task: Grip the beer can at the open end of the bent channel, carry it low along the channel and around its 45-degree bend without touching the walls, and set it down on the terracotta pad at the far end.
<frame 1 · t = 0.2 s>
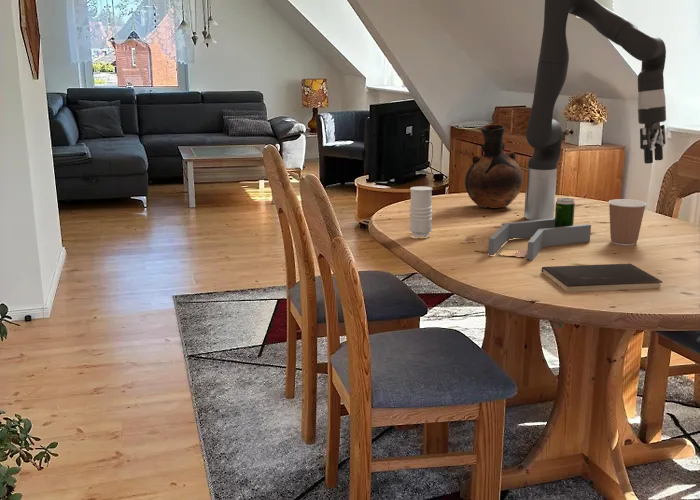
hand: (653, 161, 210), 22 cm above the table, tool pointing down, fingers open, 8 cm apart
beer can: (562, 239, 212), on the table
ceramic vessel: (492, 208, 258), on the table
coffee cup: (623, 243, 206), on the table
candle: (420, 237, 216), on the table
hardcover book: (598, 283, 172), on the table
bent channel: (537, 245, 204), on the table
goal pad: (513, 253, 196), on the table
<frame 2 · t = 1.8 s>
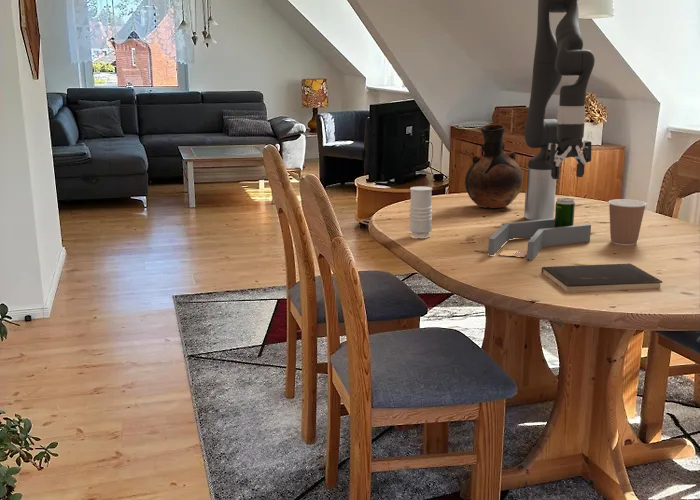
hand: (567, 177, 207), 18 cm above the table, tool pointing down, fingers open, 8 cm apart
nothing on the table moved.
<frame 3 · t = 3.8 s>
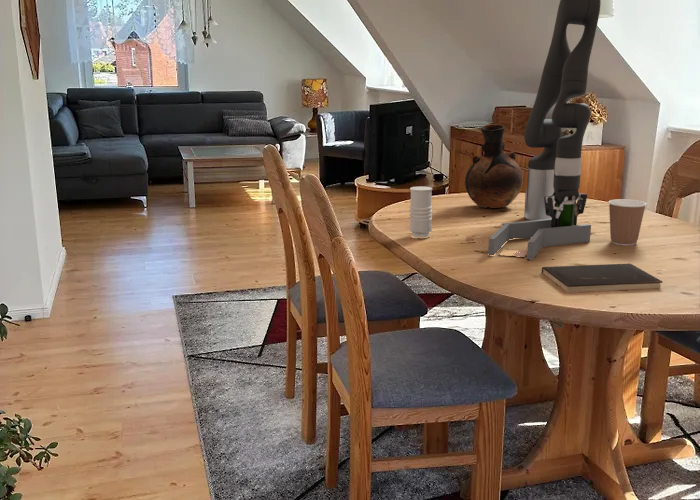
hand: (563, 228, 211), 3 cm above the table, tool pointing down, fingers closed on beer can, 5 cm apart
beer can: (562, 239, 212), on the table, touching gripper
everything else where it was.
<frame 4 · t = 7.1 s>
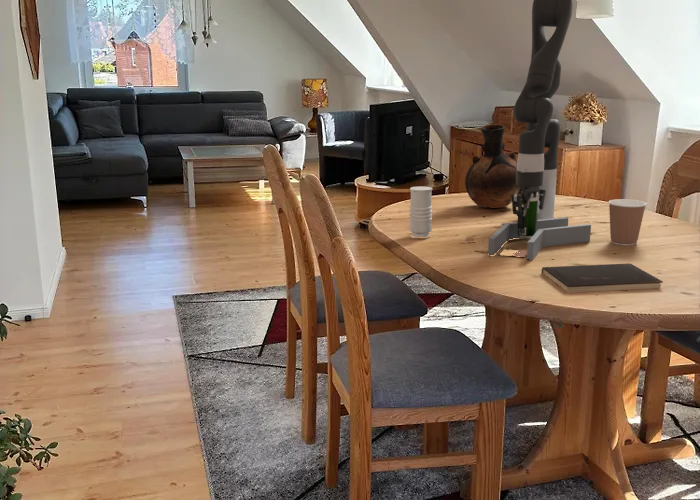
hand: (527, 226, 206), 5 cm above the table, tool pointing down, fingers closed on beer can, 5 cm apart
beer can: (526, 237, 207), point 2 cm above the table, touching gripper
everything else where it was.
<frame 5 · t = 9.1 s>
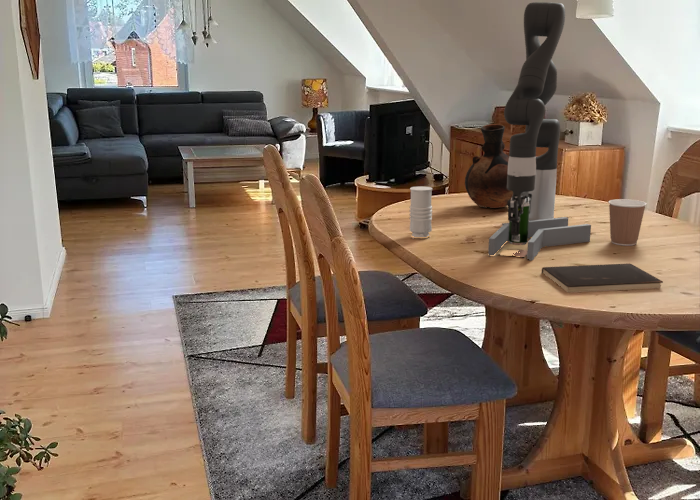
hand: (518, 232, 198), 5 cm above the table, tool pointing down, fingers closed on beer can, 5 cm apart
beer can: (517, 243, 199), point 2 cm above the table, touching gripper
everything else where it was.
when the fingers open (4 cm above the table, at t = 10.9 s): beer can stays where it is, resting on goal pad.
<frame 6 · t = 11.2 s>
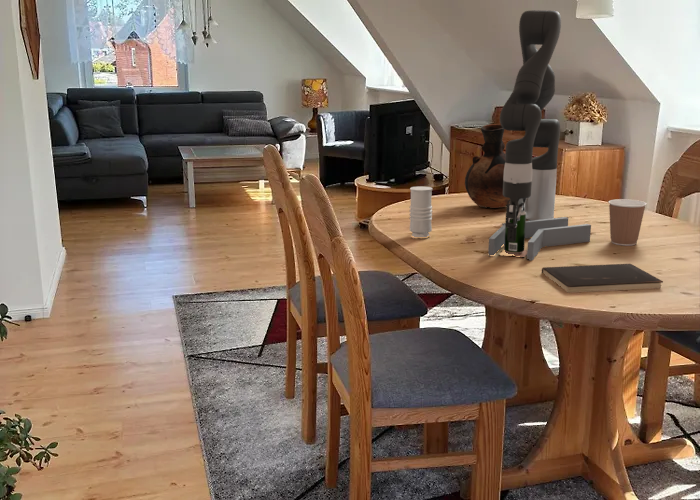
hand: (514, 237, 195), 5 cm above the table, tool pointing down, fingers open, 8 cm apart
beer can: (513, 252, 196), resting on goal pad
everything else where it was.
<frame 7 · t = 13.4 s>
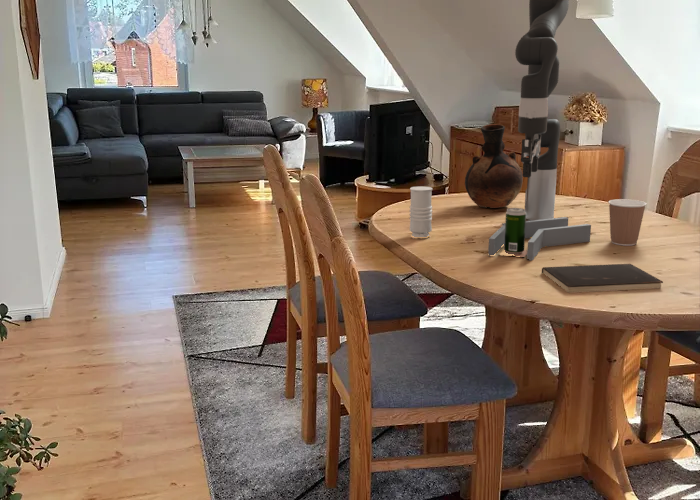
hand: (530, 174, 195), 21 cm above the table, tool pointing down, fingers open, 8 cm apart
nothing on the table moved.
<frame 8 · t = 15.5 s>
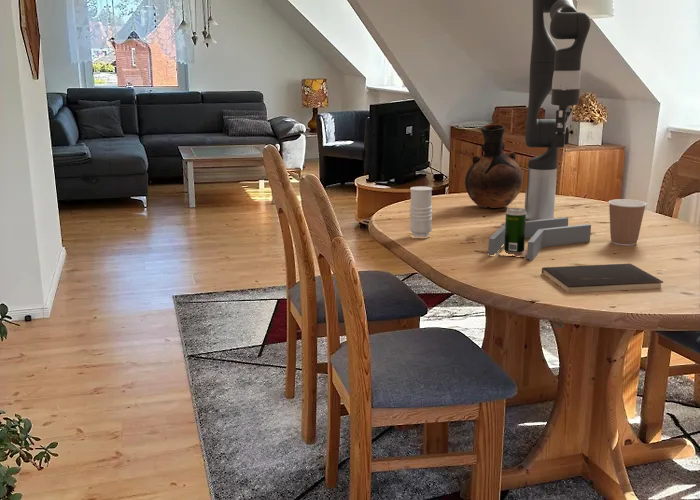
hand: (562, 145, 202), 28 cm above the table, tool pointing down, fingers open, 8 cm apart
nothing on the table moved.
at the end: beer can 0.2 cm from the target spot, resting on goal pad; beer can tilted 0°; beer can touching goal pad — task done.
